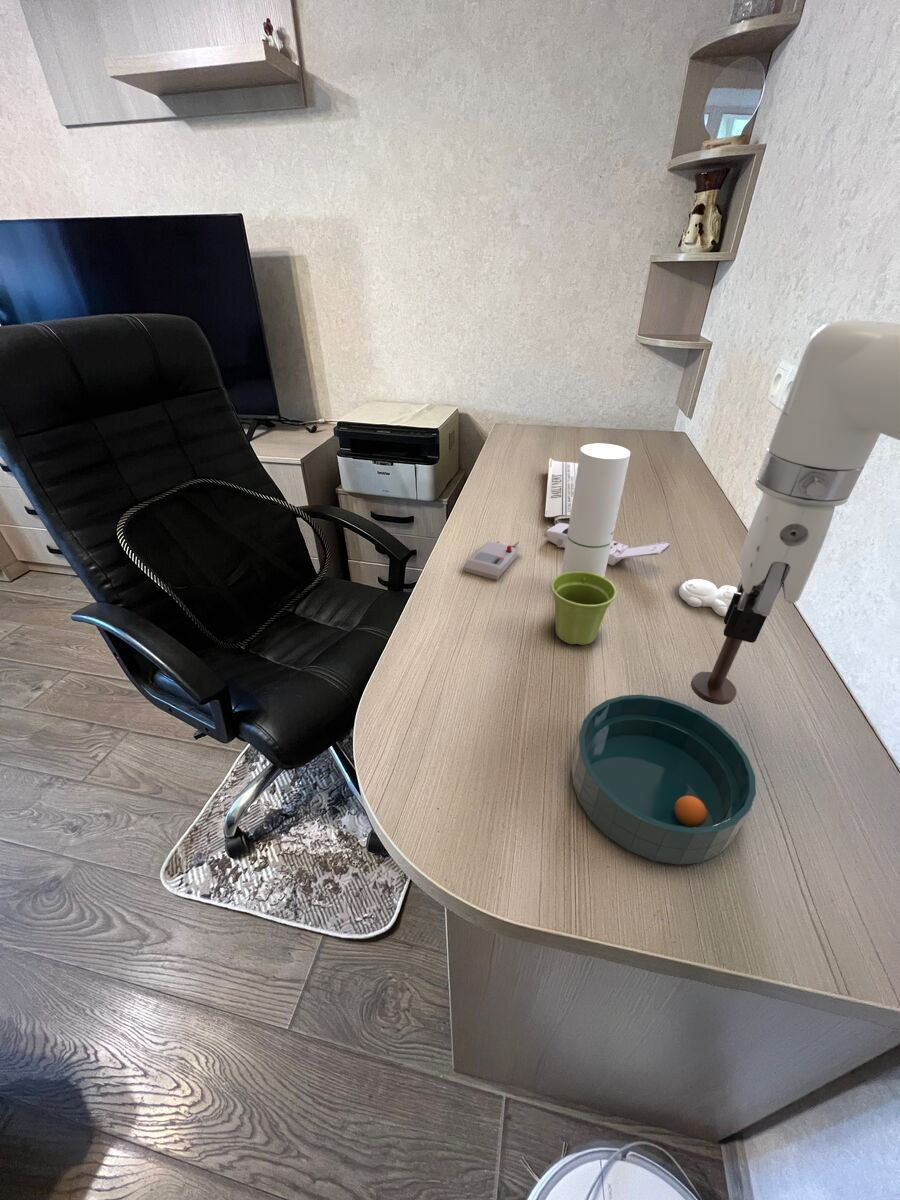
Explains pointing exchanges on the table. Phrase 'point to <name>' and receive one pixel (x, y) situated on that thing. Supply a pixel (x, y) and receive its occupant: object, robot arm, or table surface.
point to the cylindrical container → (595, 507)
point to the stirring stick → (718, 675)
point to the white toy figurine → (707, 595)
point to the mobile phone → (617, 550)
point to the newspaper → (560, 490)
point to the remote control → (491, 560)
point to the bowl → (661, 777)
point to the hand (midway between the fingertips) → (738, 631)
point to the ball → (690, 811)
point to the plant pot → (580, 605)
